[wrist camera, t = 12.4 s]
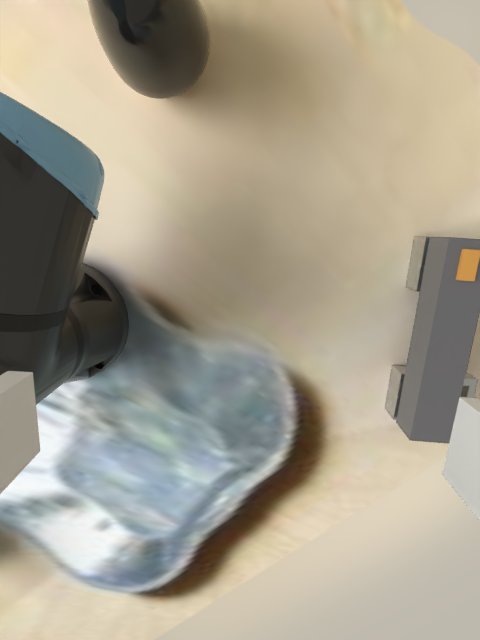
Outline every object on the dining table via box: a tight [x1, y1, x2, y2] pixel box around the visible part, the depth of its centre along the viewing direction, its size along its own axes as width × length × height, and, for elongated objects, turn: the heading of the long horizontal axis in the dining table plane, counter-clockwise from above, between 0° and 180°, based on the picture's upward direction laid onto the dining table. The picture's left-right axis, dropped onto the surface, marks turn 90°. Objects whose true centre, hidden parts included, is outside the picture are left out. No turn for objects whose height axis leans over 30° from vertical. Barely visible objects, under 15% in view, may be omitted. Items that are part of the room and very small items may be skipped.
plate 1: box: [385, 365, 478, 420], centre depth 45 cm, size 9×6×3 cm, turn 87°
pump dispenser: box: [88, 0, 210, 99], centre depth 31 cm, size 10×10×15 cm
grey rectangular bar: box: [396, 237, 480, 443], centre depth 41 cm, size 4×22×8 cm, turn 177°
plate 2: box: [406, 237, 430, 291], centre depth 41 cm, size 9×6×3 cm, turn 87°
